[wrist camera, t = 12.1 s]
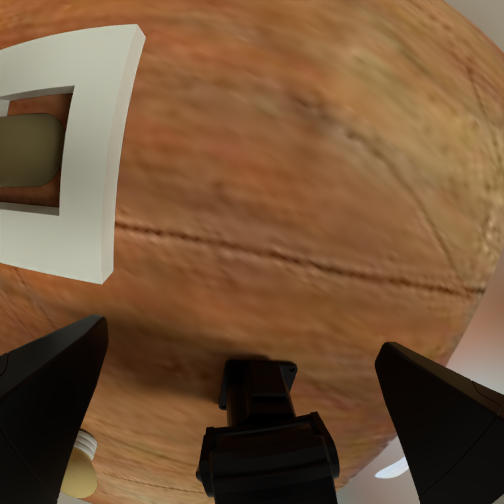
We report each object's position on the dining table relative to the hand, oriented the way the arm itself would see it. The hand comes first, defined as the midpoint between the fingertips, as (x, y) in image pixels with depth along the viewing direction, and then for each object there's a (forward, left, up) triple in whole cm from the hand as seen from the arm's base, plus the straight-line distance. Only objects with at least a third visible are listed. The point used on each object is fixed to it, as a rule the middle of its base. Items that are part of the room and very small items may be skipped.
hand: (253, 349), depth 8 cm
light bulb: (-29, +16, -13) cm, 36 cm away
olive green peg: (+5, +17, -13) cm, 22 cm away
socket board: (+5, +17, -13) cm, 22 cm away
